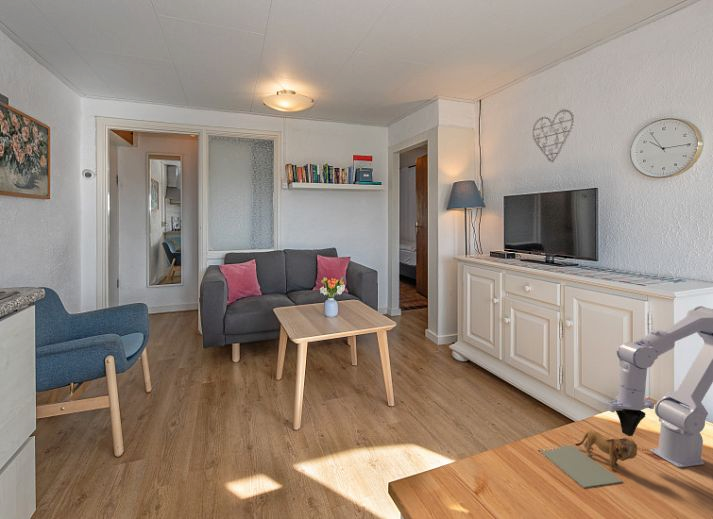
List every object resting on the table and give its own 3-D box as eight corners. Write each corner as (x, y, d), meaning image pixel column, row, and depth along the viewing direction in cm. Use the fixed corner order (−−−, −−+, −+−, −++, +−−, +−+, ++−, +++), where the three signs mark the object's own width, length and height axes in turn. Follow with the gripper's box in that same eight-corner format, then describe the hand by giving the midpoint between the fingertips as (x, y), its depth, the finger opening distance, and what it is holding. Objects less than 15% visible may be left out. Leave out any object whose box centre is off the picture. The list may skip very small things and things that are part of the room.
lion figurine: (637, 473, 96) (642, 440, 96) (629, 479, 93) (634, 445, 93) (578, 444, 109) (583, 415, 108) (569, 448, 106) (573, 418, 105)
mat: (572, 446, 108) (572, 445, 108) (623, 482, 92) (623, 481, 92) (537, 450, 105) (537, 448, 105) (583, 488, 90) (583, 486, 90)
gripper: (638, 379, 106) (634, 424, 107) (597, 382, 103) (593, 428, 104) (664, 390, 100) (659, 438, 101) (621, 393, 96) (616, 442, 97)
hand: (627, 434), depth 102 cm, fingers closed
